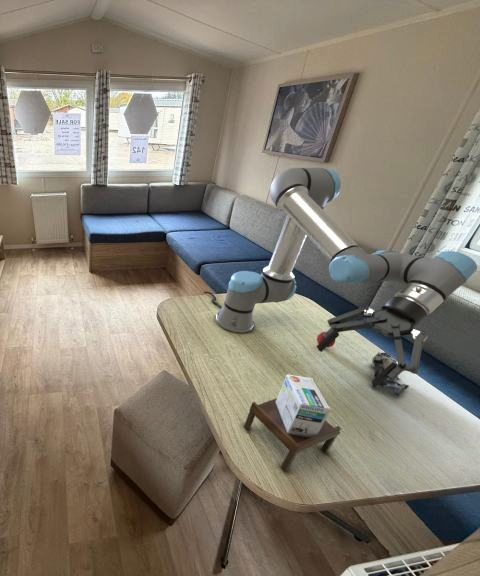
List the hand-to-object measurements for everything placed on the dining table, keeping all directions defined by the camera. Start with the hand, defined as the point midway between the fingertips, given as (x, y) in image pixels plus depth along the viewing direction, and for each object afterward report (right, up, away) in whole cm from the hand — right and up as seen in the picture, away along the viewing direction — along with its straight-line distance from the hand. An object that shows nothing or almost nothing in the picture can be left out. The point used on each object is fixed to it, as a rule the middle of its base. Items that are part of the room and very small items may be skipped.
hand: (344, 365), depth 78 cm
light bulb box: (-10, -16, +4) cm, 19 cm away
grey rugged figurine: (+36, -13, +29) cm, 48 cm away
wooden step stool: (-11, -22, +8) cm, 26 cm away
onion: (+27, -4, +45) cm, 52 cm away
